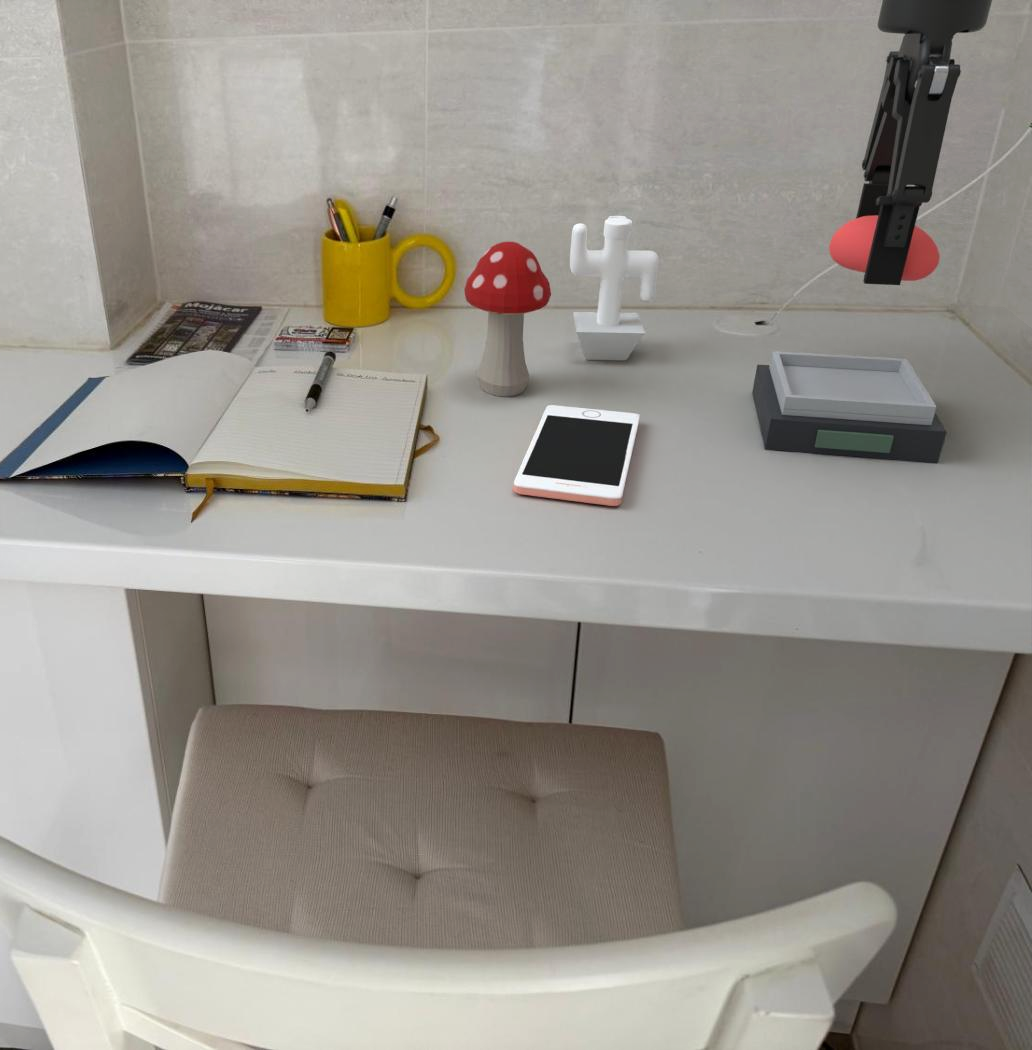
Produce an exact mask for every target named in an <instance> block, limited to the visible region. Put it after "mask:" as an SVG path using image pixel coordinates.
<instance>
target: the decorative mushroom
mask: <svg viewBox="0 0 1032 1050" xmlns="http://www.w3.org/2000/svg"><path fill="white" fill-rule="evenodd" d="M551 291H552V290H551V285H550V281H549V279H548V278H547V276H546V275H545V273H544V272H543V270H542V268H541V265H540V263H539V260H538V258H537V257H536V255H535V254H534V252H533V251H532V250H530V249H529V248H528V247H527V246H525V245H524V244H521V243H519V242H515V241H502V242H501V241H500V242H498V243H496V244H494V245H492V246H490V247H489V248H488V249H486V251H485V252H483V254H482V256H481V257H480V258H479V260H478V262H477V263H476V266H475V268H474V270H473V271H472V273H470V275H469V276H468V278H467V279H466V282H465V285H464V297H465V300H466V302H467V303H468V304H469V305H470V306H473V307H475V308H476V309H479V310H482V311H484V312H488V313H487V314H488V315H487V331H486V341H485V344H484V350H483V354H482V358H481V361H480V363H479V366H478V368H477V370H476V372H477V373H476V374H477V378H478V383H479V387H480V388H481V390H482V391H483V392H485V393H487V394H489V395H492V396H497V397H506V398H507V397H508V398H509V397H514V396H518V395H520V394H522V393H523V392H525V389H526V387H527V384H528V382H529V379H530V373H529V370H528V367H527V364H526V358H525V348H524V347H525V346H524V322H525V321H524V320H525V314H528V313H532V312H535V311H538V310H541V309H543V308H545V307H546V306H547V305H548V304H549V302H550V300H551V296H552V292H551Z"/></svg>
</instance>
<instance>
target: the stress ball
mask: <svg viewBox="0 0 1032 1050" xmlns="http://www.w3.org/2000/svg"><path fill="white" fill-rule="evenodd" d="M877 220H878V215H875V216H863V217H860V218H857V219H856V218H853V219H852V220H849V221H847V222H845V223H844V224H843V225H842V226H840V227H839V228H838V229H837V230H836V231H835V232H834V233H833V235H832V237H831V240H830V243H829V247H828V250H829V251H828V252H829V256H830V257H831V259H832V260H833V262H835V263H836V264H837V265H839V266H840V267H842V268H844V269H848V270H851V271H855V272H859V273H863V274H865V271H866V267H867V263H868V258H869V254H870V250H871V246H872V241H873V237H874V233H875V228H876V224H877ZM940 257H941V255H940V252H939V249H938V246H937V244H936V243H935V242H934V240H933V238H932V237H931V236H930V235H929V234H928V233H927V232H926V231H925V230H924V229H922V228H921V227H919V226H917V225H915V227H914V231H913V235H912V239H911V243H910V247H909V251H908V255H907V259H906V263H905V267H904V271H903V275H902V279H901V282H902V281H904V282H913V281H914V282H915V281H920V280H923V279H925V278H927V277H928V276H930V275H932V273H934V272H935V270H936V269H937V267H938V265H939V263H940Z"/></svg>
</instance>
